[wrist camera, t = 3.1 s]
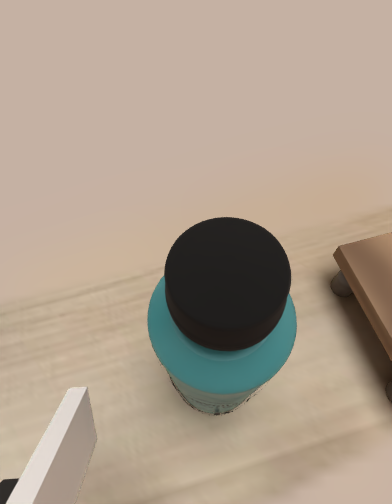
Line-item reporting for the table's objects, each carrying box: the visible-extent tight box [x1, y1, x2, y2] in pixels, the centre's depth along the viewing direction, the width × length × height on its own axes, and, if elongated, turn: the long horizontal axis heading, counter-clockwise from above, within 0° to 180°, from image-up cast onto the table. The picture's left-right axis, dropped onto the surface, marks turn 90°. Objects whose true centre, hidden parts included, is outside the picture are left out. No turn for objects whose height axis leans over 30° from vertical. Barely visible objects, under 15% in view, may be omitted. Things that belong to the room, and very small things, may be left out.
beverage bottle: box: [147, 217, 297, 416], centre depth 18 cm, size 6×7×20 cm
